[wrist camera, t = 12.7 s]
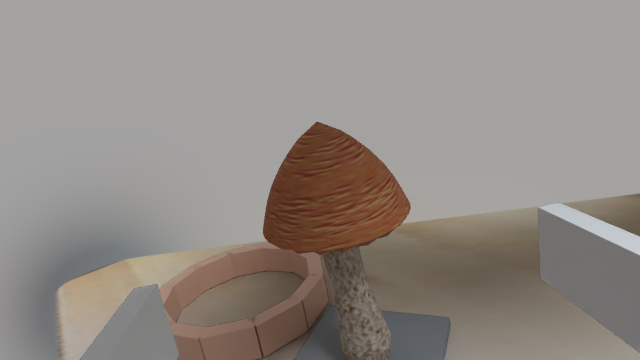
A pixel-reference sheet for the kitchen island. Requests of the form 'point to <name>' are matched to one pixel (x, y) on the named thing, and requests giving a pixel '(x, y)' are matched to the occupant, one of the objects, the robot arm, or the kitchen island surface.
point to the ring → (252, 333)
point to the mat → (406, 330)
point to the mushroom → (338, 224)
